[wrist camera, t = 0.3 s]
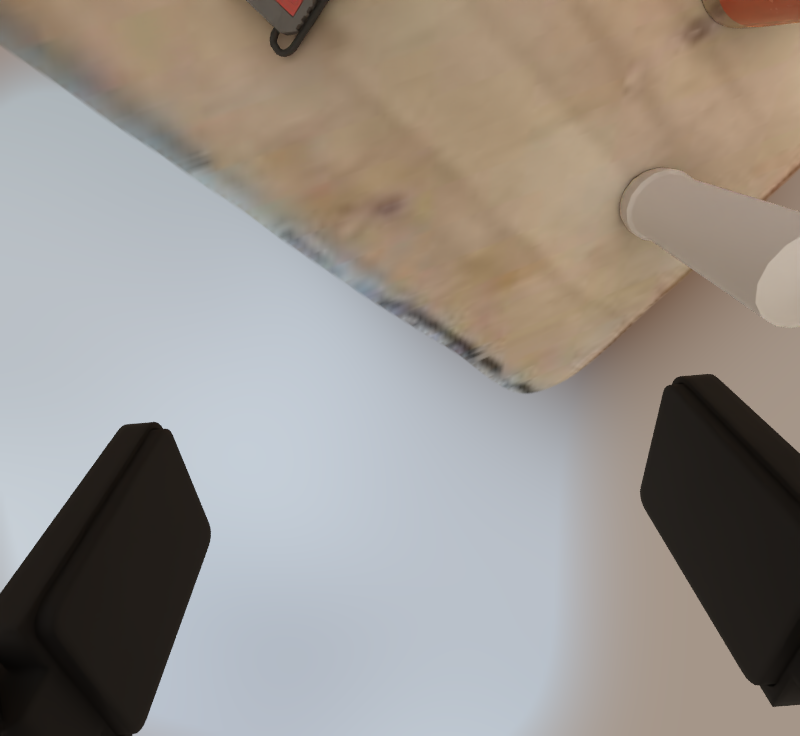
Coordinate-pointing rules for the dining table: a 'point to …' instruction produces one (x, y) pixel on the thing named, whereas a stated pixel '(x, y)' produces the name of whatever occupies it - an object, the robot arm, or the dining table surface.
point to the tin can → (753, 12)
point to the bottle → (722, 238)
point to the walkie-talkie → (289, 19)
